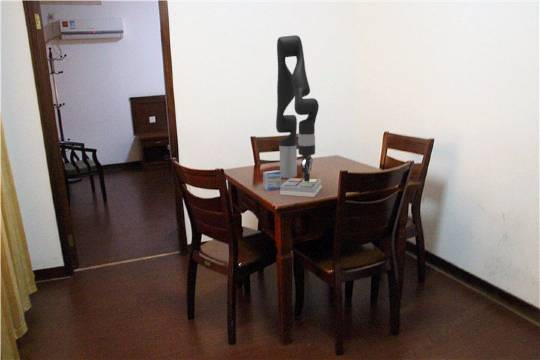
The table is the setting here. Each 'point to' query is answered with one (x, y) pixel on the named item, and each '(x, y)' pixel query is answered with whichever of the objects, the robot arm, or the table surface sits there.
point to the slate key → (291, 184)
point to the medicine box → (272, 180)
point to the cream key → (311, 181)
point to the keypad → (300, 189)
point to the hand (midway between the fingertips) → (307, 181)
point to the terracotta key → (296, 180)
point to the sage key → (307, 185)
